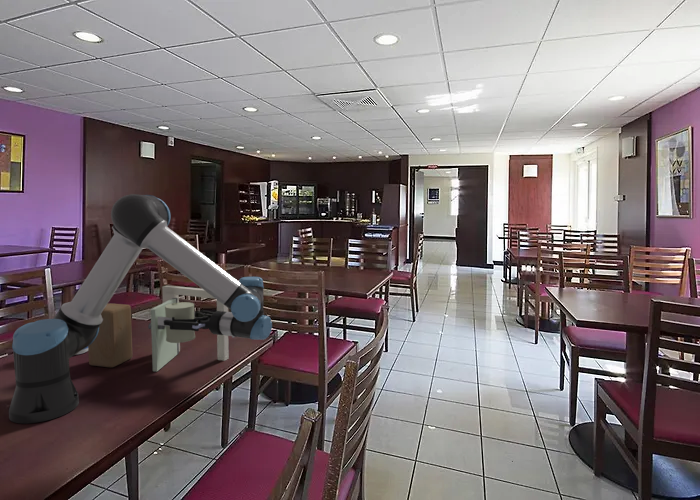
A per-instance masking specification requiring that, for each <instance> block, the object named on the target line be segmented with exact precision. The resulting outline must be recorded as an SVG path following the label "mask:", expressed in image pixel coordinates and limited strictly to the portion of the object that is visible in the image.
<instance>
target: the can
mask: <svg viewBox="0 0 700 500" xmlns="http://www.w3.org/2000/svg"><path fill="white" fill-rule="evenodd" d="M194 311H195V303H193V302H189V301H184V302H183V301H182V302H180V301H179V302H178V303H172V304H168V305H166V306H165V314H166V317H169V318H172V317H174V318H175V319H194ZM195 333H196V331H192V330H171V329H170V326H166V341H167V342H170V343H180V344H181V343H186V342H191V341H193V340H195V339H196V334H195Z"/></svg>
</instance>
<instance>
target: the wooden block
mask: <svg viewBox="0 0 700 500" xmlns="http://www.w3.org/2000/svg"><path fill="white" fill-rule="evenodd" d="M131 308H132V306H131V305H130V304H123V303H110V302H108V304H107V305H106V307H105V308H104V310H103V311H102V313H101V316H102V318H103V321H102V323H101V325H100V326H99V332H98V335H97V337H96V338H95V340H94V341H93V342H92V343H91V344H90V345H89V346H88V351H87V353H88V364H89V365H90V366H95V367H96V366H97V367H105V368H115V367H117V366H119V365H121V364H123V363H125V362H127V361H129V360H131V359H133V337H132V336H133V334H132V332H133V331H132V309H131Z"/></svg>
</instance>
